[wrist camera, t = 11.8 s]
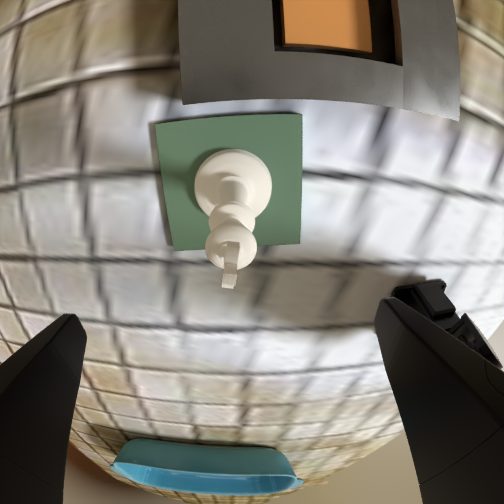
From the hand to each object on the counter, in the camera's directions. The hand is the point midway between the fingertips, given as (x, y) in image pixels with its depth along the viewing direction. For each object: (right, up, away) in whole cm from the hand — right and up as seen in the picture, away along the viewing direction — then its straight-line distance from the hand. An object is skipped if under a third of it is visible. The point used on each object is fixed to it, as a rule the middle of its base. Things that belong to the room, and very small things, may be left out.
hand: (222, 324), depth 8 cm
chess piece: (0, +6, +11) cm, 12 cm away
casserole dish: (-8, -38, +37) cm, 54 cm away
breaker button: (+5, +16, +5) cm, 18 cm away
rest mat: (-1, +6, +11) cm, 13 cm away
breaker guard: (+5, +17, +5) cm, 18 cm away
